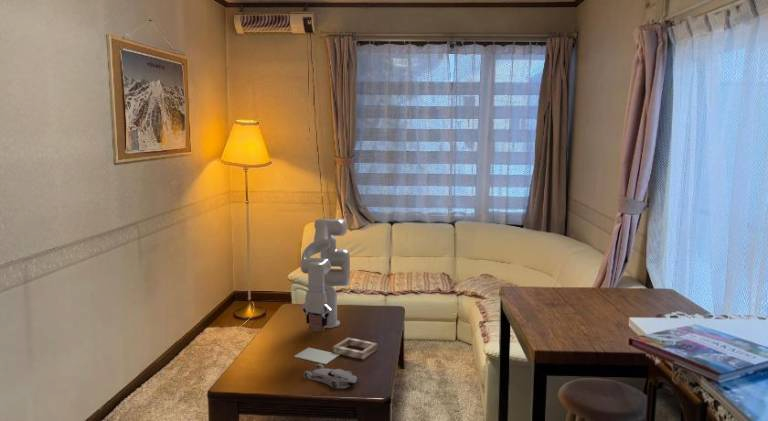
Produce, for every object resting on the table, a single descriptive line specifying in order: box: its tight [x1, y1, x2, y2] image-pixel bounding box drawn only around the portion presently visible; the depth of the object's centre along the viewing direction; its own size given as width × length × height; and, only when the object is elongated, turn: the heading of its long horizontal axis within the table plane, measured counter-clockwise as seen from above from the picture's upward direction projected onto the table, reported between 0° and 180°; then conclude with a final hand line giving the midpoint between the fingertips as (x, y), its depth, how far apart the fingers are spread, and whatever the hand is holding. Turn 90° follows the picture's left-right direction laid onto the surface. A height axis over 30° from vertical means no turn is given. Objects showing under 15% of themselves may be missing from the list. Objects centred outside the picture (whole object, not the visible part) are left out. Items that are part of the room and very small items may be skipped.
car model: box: [303, 363, 358, 390], centre depth 229 cm, size 11×24×5 cm, turn 59°
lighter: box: [308, 312, 326, 332], centre depth 251 cm, size 8×3×10 cm, turn 71°
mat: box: [293, 347, 341, 365], centre depth 254 cm, size 18×12×1 cm, turn 63°
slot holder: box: [332, 337, 379, 360], centre depth 260 cm, size 17×14×3 cm
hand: (316, 324), depth 252 cm, fingers closed on lighter, 8 cm apart
